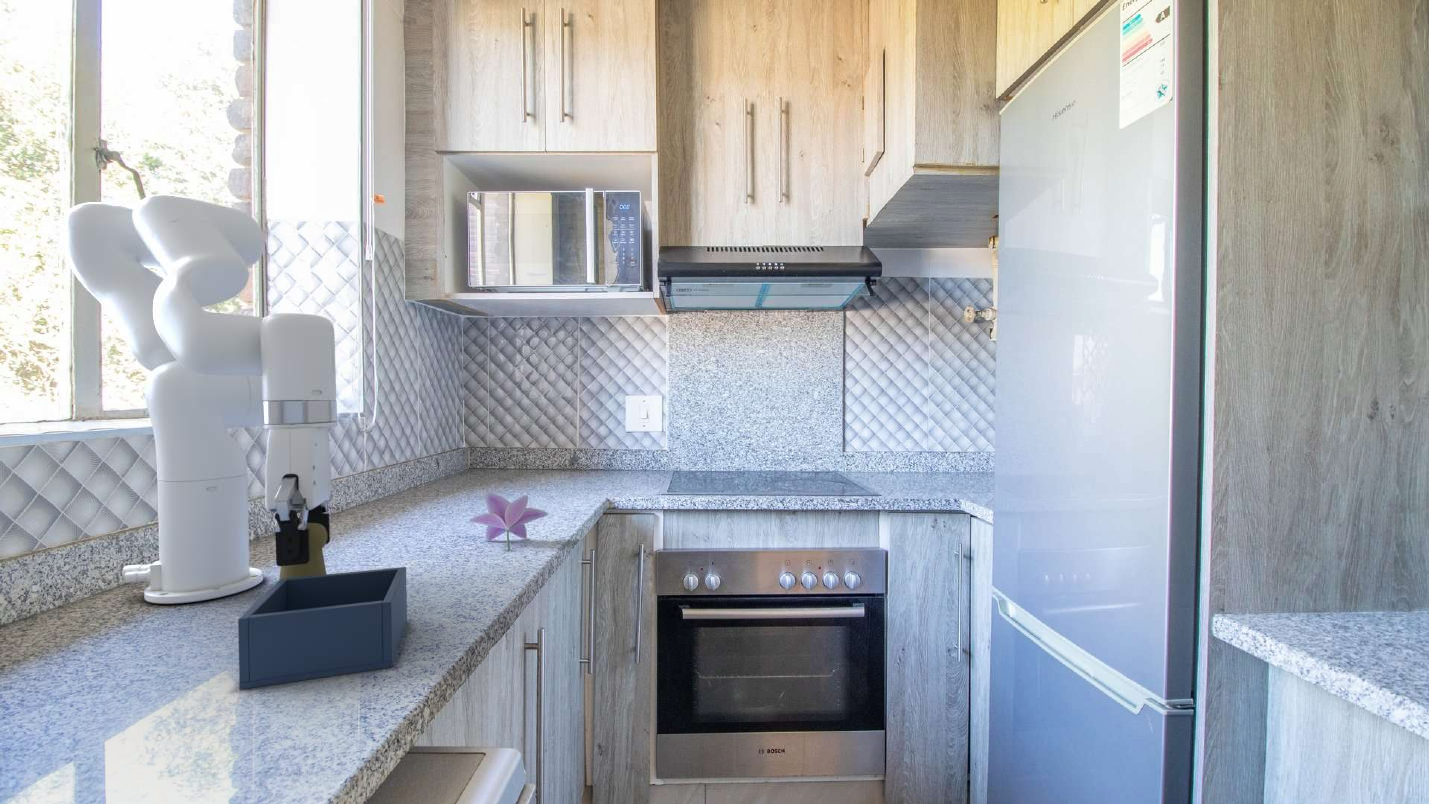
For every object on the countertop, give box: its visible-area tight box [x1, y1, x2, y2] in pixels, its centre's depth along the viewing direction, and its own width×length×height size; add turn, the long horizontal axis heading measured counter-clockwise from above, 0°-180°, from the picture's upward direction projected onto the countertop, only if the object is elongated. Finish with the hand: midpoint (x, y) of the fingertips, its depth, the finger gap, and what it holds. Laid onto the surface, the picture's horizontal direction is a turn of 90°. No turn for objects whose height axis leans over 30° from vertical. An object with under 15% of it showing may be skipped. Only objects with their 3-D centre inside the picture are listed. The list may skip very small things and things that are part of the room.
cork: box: [278, 523, 327, 581], centre depth 75 cm, size 6×6×11 cm
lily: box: [469, 491, 549, 551], centre depth 107 cm, size 12×12×10 cm
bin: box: [237, 566, 408, 690], centre depth 64 cm, size 13×13×7 cm
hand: (305, 554), depth 75 cm, fingers open, 9 cm apart
